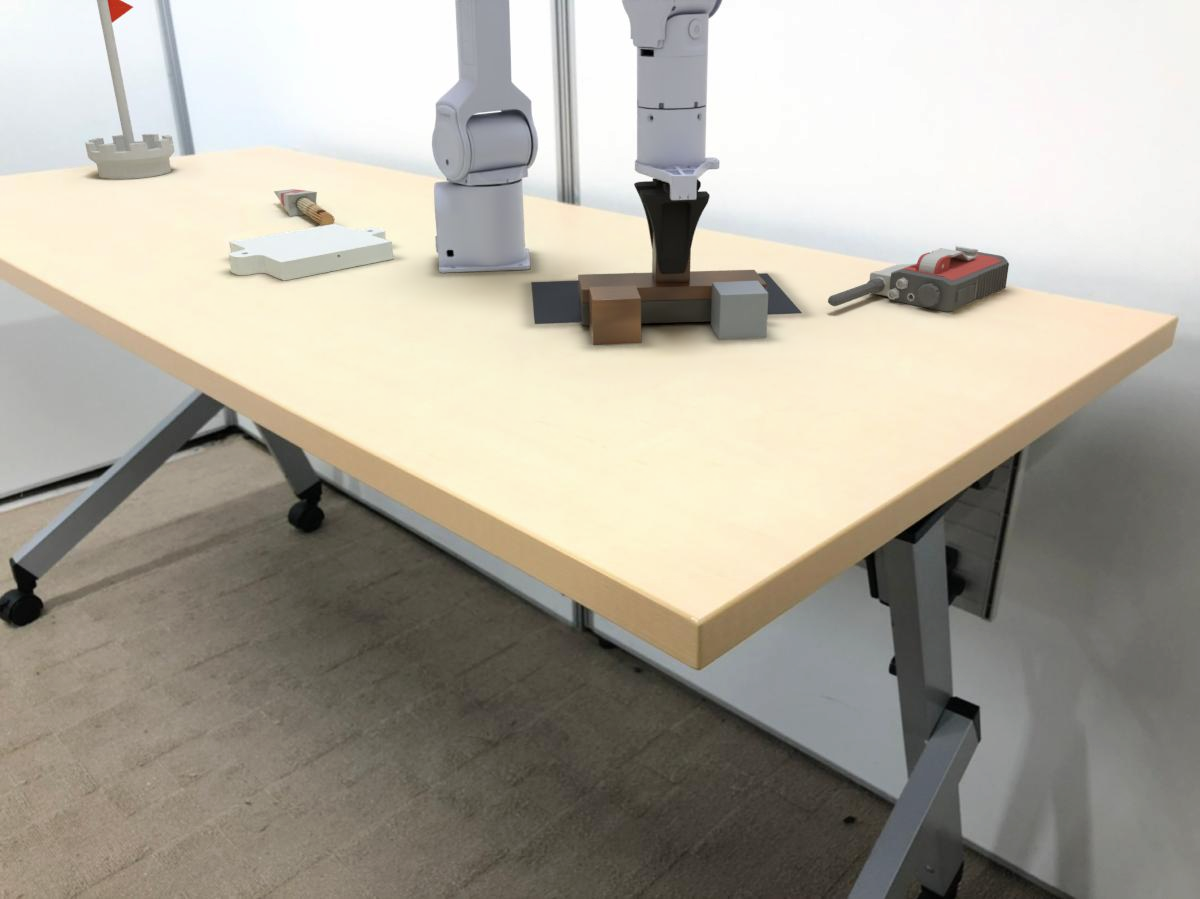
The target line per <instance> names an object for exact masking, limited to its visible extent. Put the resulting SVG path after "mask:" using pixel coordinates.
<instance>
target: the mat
mask: <svg viewBox="0 0 1200 899" xmlns="http://www.w3.org/2000/svg"><path fill="white" fill-rule="evenodd" d="M758 275H759V276H760V277H761V278H762V279H763V280H764V282H765V283H766V284H767V290H766V291H767V292H768V311H767V316H769V315H772V316H773V315H795V314H797V315H798V314H803V312H802V311H801V310H800V308H799V307H798V306H797V305H796V304H795V302H793V301H792V300H791V298H789V296H788V295H787V294H786V293H785V292H784V291H783V289H782V288H781V287H780V286H779V284H778V283H777V282H776V281H774V279H773V278H772V277H771V276H770V275H769V273H768V272H765V273H763V272H762V273H758ZM530 284H531V294H532V308H533V309H532V310H533V319H534V320H533V321H534V325H549V324H570V323H571V324H572V323H573V324H574V323H582V322H581V317H580V313H579V303H578V279H577V280H555V281H554V280H553V281H552V280H551V281H531V283H530Z"/></svg>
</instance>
